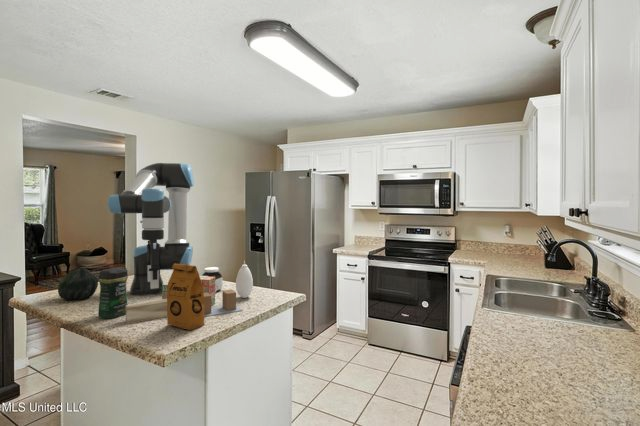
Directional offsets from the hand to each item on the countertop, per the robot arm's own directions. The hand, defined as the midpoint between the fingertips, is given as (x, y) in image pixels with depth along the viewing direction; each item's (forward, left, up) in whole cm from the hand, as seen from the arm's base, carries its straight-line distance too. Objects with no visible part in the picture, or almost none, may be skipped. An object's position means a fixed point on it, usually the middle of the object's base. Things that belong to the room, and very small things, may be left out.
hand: (152, 284), depth 127 cm
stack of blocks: (-10, +15, -13) cm, 22 cm away
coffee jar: (-10, -13, -13) cm, 21 cm away
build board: (+4, +23, -13) cm, 27 cm away
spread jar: (-26, +28, -13) cm, 41 cm away
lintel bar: (0, 0, -13) cm, 13 cm away
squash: (-46, -27, -13) cm, 55 cm away
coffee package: (+15, +10, -13) cm, 22 cm away
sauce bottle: (-9, +39, -13) cm, 42 cm away
